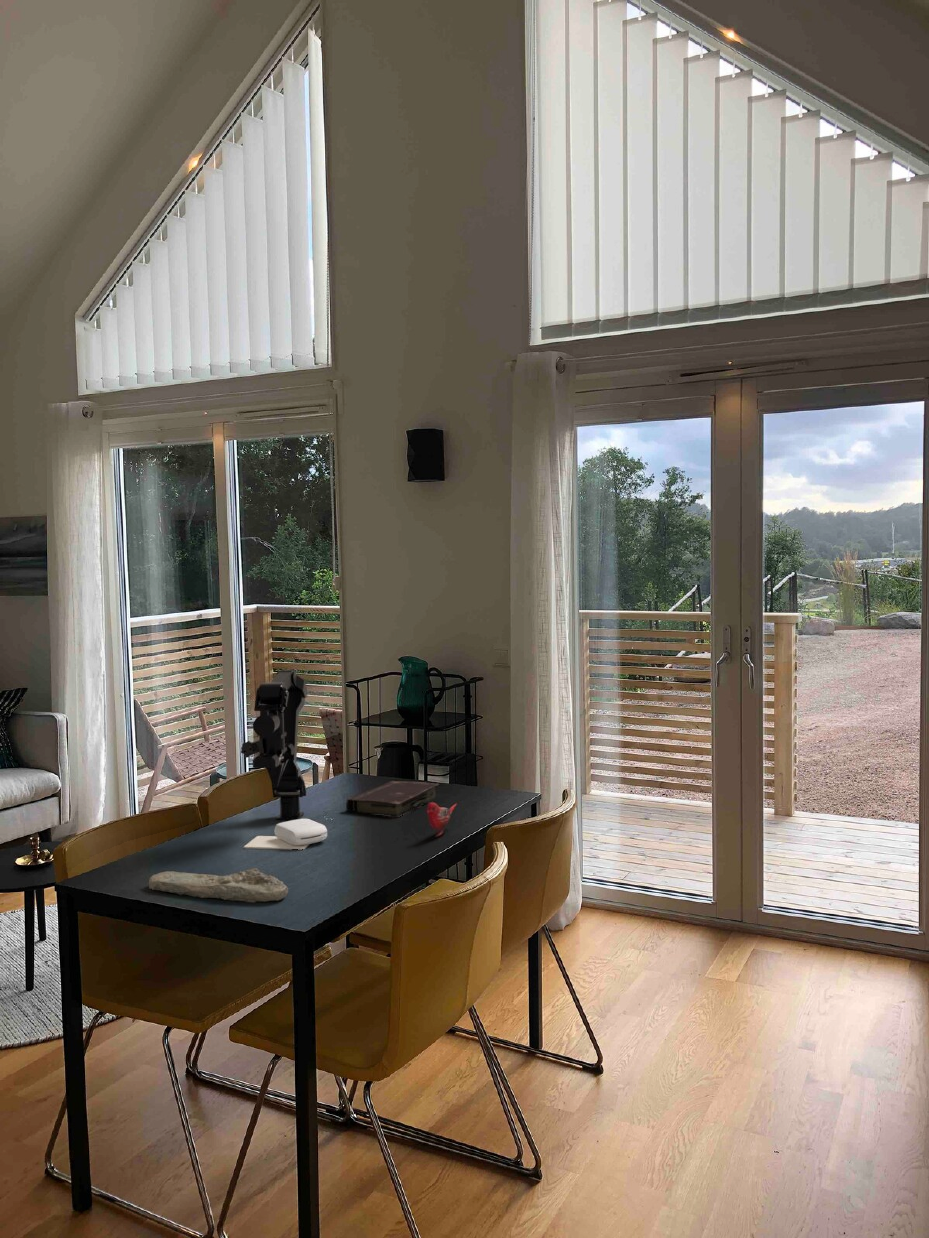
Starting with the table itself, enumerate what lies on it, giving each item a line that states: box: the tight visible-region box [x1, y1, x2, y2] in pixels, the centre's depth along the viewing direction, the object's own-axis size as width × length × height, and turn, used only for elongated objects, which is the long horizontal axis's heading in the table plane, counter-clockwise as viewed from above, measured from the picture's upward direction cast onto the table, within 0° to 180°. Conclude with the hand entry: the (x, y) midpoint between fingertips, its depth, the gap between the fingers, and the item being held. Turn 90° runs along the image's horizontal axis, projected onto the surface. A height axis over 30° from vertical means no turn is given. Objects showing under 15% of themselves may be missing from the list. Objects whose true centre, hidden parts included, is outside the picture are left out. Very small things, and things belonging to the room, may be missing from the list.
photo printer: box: [273, 818, 328, 845], centre depth 264 cm, size 10×4×12 cm
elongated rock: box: [148, 867, 289, 904], centre depth 225 cm, size 35×5×10 cm
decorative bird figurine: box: [426, 801, 458, 838], centre depth 268 cm, size 3×18×10 cm, turn 155°
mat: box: [243, 835, 310, 851], centre depth 263 cm, size 10×16×1 cm, turn 81°
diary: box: [345, 780, 440, 818], centre depth 301 cm, size 19×25×5 cm
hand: (275, 786), depth 272 cm, fingers closed
